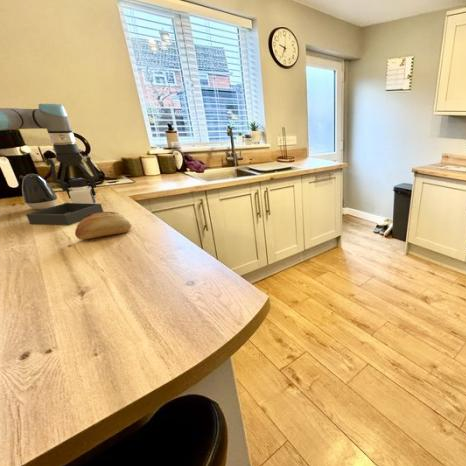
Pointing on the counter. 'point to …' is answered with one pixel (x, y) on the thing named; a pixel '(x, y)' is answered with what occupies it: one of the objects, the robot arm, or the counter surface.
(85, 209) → the bin
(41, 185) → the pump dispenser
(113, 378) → the counter surface
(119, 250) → the counter surface
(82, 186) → the medicine bottle
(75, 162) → the robot arm
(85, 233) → the bread roll
